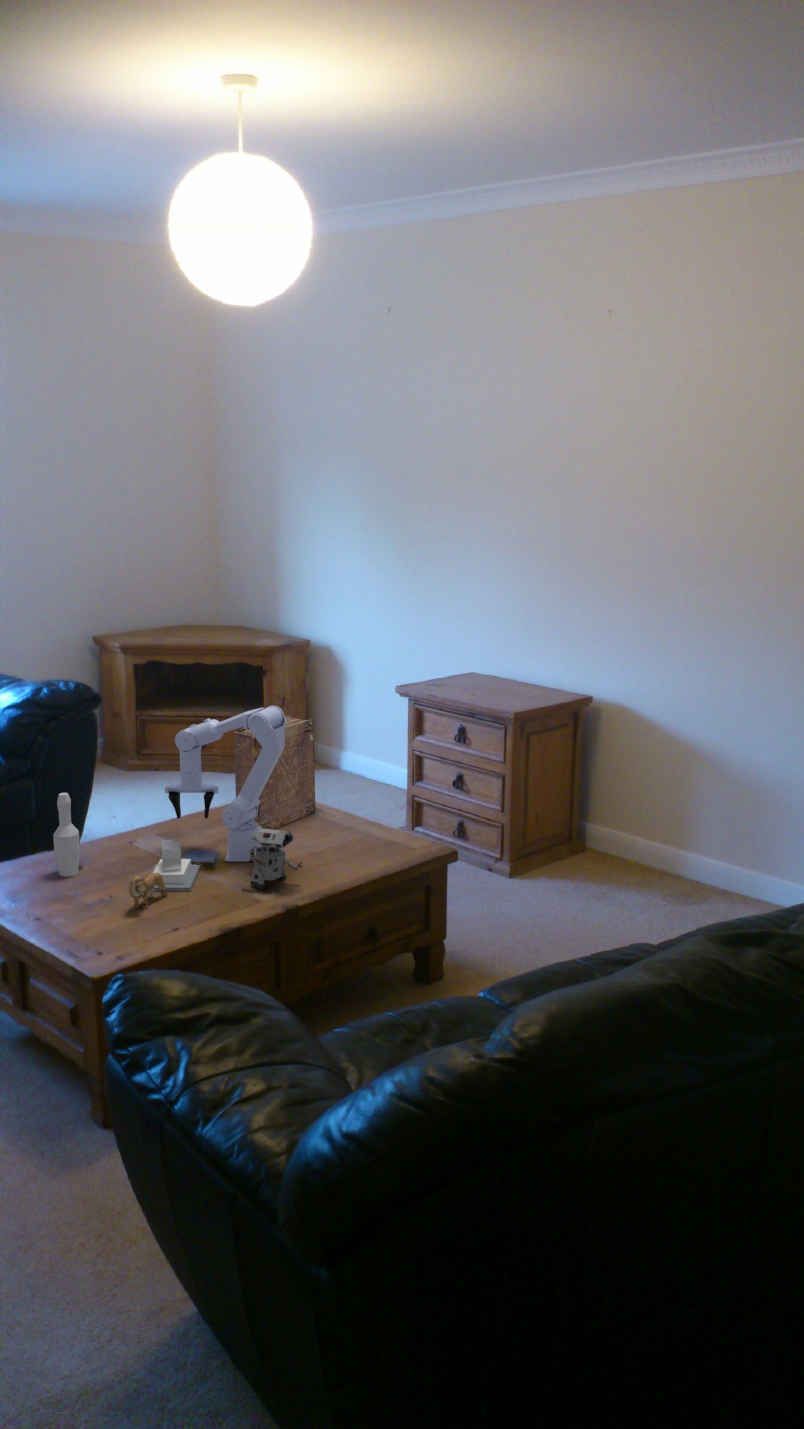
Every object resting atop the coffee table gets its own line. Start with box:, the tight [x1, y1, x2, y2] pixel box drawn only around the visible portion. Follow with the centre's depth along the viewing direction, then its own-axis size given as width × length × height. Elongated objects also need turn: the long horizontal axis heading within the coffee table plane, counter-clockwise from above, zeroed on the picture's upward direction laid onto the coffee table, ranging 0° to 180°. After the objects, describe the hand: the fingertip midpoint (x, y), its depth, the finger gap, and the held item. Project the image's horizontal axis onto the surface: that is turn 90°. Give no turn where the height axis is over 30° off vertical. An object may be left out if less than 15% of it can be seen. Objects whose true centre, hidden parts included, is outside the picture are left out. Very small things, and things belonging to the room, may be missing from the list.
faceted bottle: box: [52, 792, 81, 878], centre depth 287 cm, size 6×6×22 cm
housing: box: [160, 838, 182, 872], centre depth 285 cm, size 4×7×6 cm, turn 16°
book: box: [233, 714, 316, 830], centre depth 327 cm, size 25×9×30 cm, turn 145°
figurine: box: [248, 828, 303, 890], centre depth 281 cm, size 9×12×15 cm
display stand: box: [149, 858, 201, 892], centre depth 285 cm, size 12×16×4 cm
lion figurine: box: [128, 873, 168, 909], centre depth 270 cm, size 15×5×9 cm, turn 165°
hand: (192, 817), depth 305 cm, fingers open, 7 cm apart
